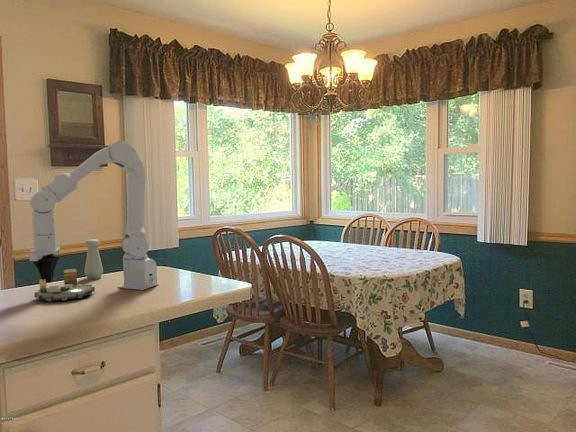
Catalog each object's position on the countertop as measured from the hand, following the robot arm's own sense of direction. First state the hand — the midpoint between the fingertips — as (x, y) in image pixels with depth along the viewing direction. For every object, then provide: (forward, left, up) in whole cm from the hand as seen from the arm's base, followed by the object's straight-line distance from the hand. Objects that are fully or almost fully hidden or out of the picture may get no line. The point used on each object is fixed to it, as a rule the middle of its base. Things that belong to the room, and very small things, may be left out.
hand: (47, 282), depth 138 cm
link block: (+4, -12, -4) cm, 14 cm away
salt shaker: (+6, -24, -4) cm, 26 cm away
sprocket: (-5, -1, -4) cm, 7 cm away
